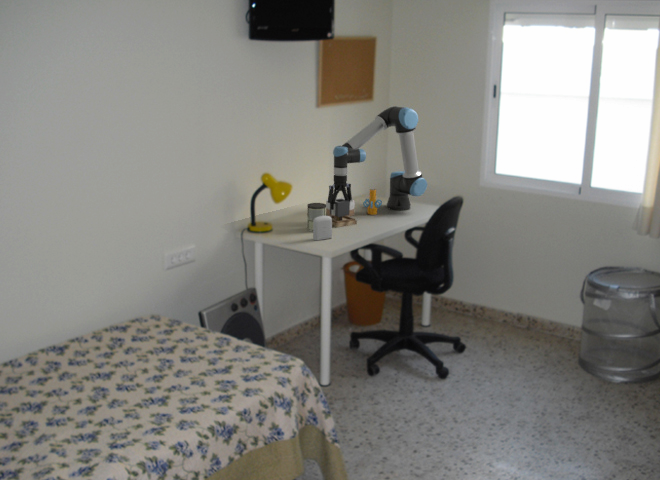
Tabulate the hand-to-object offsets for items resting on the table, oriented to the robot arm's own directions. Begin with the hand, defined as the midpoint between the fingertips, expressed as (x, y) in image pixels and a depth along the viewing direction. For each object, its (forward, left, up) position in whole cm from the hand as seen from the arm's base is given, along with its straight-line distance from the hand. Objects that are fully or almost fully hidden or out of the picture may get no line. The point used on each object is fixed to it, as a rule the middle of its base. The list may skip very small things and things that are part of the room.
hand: (339, 214), depth 384 cm
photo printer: (+27, +22, -6) cm, 35 cm away
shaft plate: (0, 0, -5) cm, 5 cm away
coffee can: (+19, +5, -6) cm, 20 cm away
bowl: (-14, -19, -6) cm, 24 cm away
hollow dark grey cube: (0, 0, 0) cm, 0 cm away
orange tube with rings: (-30, -8, -6) cm, 32 cm away
